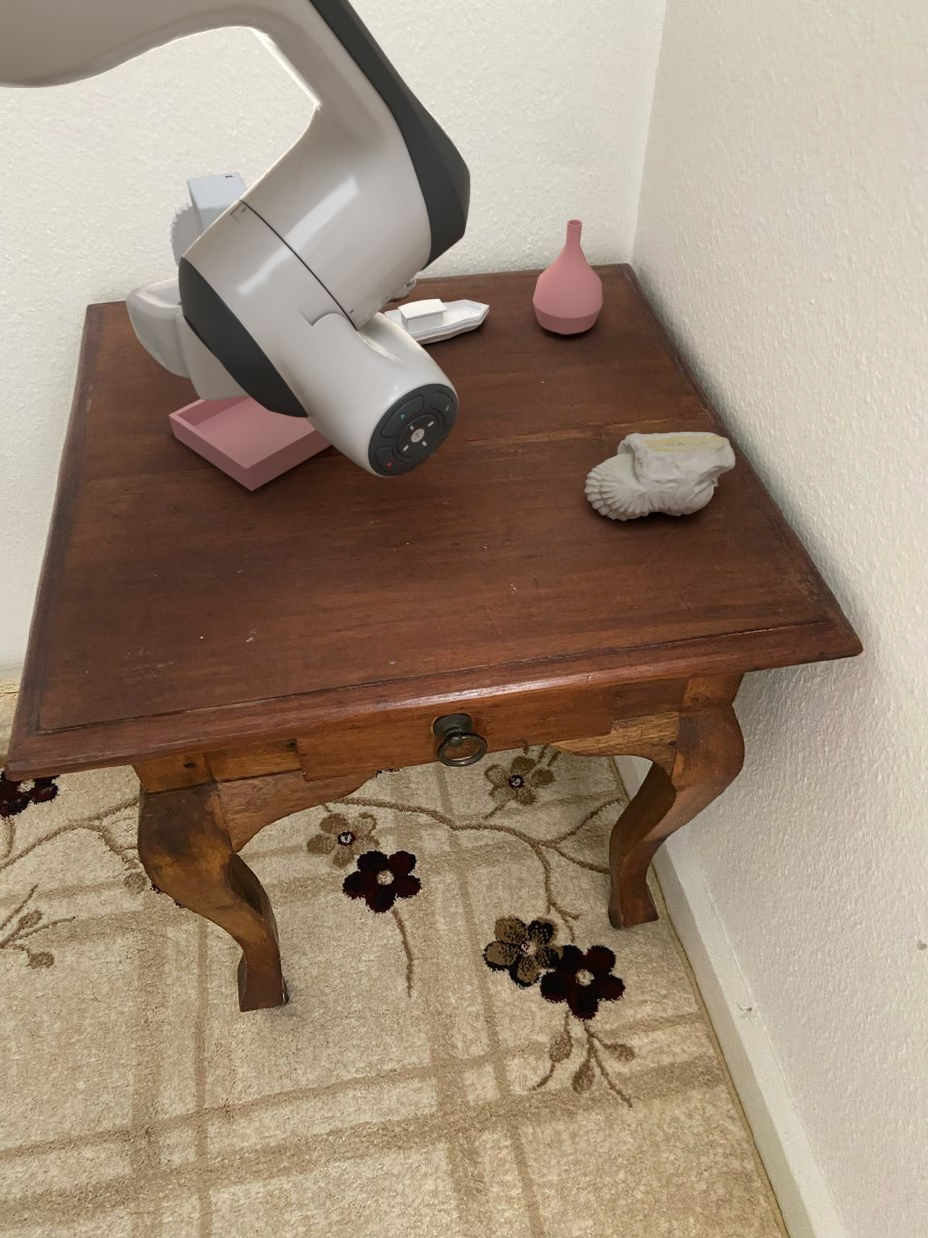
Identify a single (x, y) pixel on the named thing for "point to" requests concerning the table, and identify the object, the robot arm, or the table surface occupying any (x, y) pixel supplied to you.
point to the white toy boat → (438, 318)
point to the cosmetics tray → (246, 438)
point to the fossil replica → (659, 474)
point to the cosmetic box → (214, 196)
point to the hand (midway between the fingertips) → (228, 254)
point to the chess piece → (183, 231)
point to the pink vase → (568, 289)
